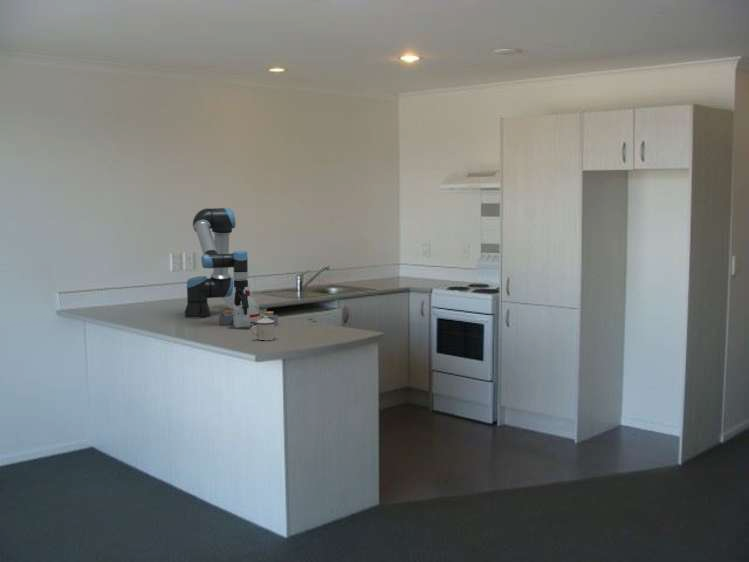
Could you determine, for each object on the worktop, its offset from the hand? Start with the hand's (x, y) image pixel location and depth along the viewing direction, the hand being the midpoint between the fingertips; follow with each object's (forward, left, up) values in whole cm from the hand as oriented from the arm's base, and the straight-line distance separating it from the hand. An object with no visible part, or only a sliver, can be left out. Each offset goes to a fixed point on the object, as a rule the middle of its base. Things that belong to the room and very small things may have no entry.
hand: (241, 319), depth 438 cm
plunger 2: (-11, +12, -3) cm, 17 cm away
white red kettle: (-42, -11, -5) cm, 44 cm away
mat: (0, 0, -5) cm, 5 cm away
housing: (-11, 0, -5) cm, 12 cm away
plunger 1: (-11, -12, -3) cm, 17 cm away
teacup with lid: (+34, +23, -5) cm, 41 cm away
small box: (0, 0, -4) cm, 4 cm away
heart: (-68, -30, -5) cm, 74 cm away
